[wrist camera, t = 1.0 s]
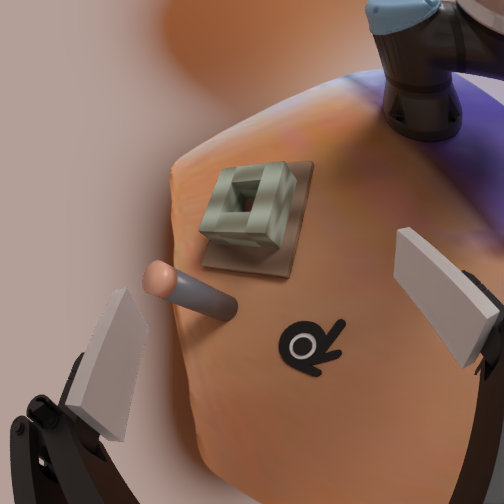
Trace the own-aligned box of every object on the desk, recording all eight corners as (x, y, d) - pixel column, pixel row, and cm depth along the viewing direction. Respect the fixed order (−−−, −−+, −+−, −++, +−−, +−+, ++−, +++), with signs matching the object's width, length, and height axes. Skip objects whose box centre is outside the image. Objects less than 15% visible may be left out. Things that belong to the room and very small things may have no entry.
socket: (237, 171, 53) (220, 153, 49) (314, 164, 44) (301, 140, 40) (204, 267, 47) (181, 253, 43) (289, 278, 39) (270, 263, 34)
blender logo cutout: (342, 309, 34) (341, 308, 33) (356, 366, 30) (355, 366, 29) (277, 329, 37) (275, 328, 36) (286, 383, 33) (284, 383, 32)
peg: (220, 294, 44) (149, 258, 32) (240, 298, 41) (169, 261, 30) (213, 318, 42) (138, 290, 31) (233, 323, 40) (158, 296, 28)
